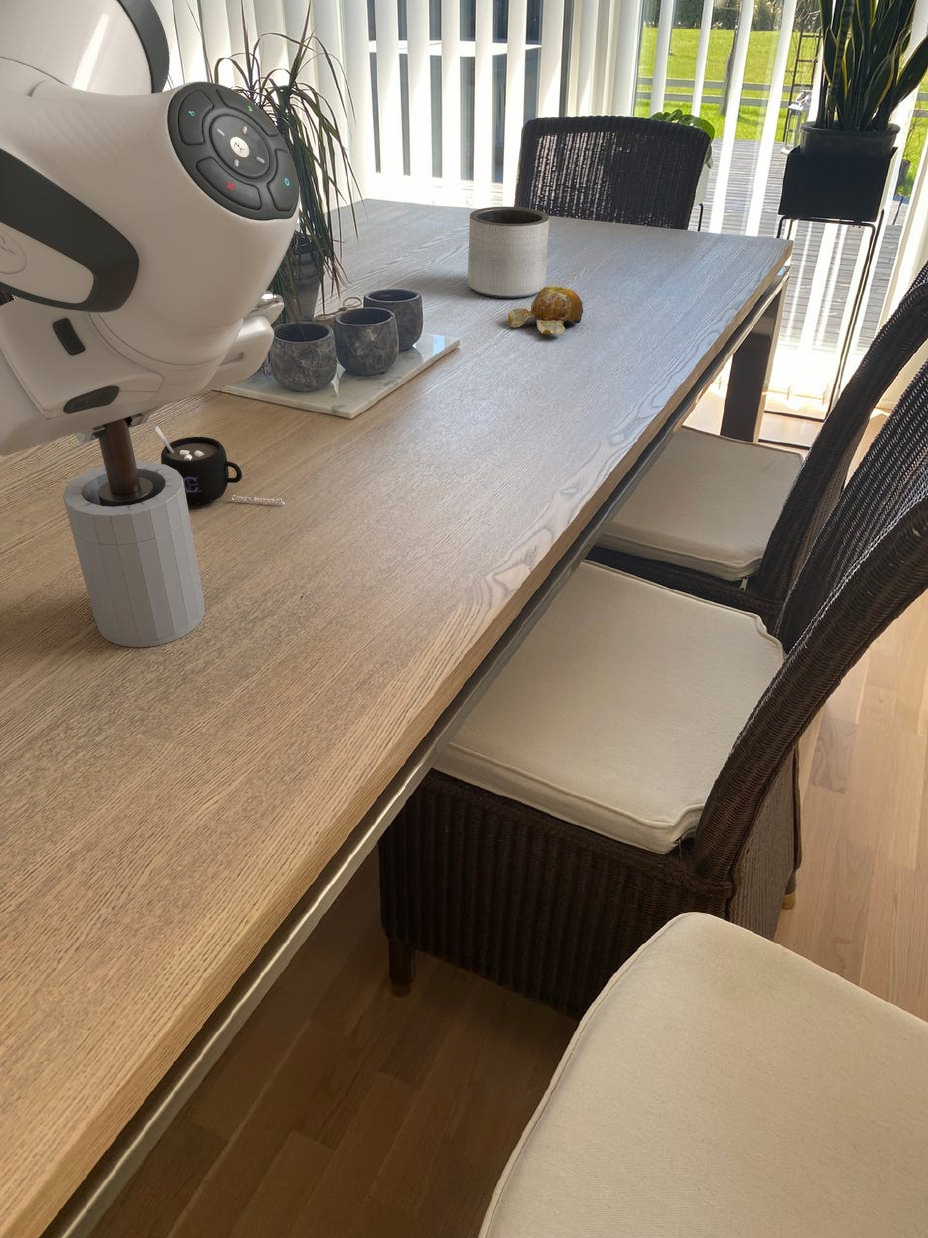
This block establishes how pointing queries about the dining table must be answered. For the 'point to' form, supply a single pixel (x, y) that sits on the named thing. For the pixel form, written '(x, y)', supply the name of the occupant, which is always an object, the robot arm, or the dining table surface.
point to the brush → (121, 468)
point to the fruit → (550, 310)
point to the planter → (507, 251)
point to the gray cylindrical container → (137, 558)
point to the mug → (202, 468)
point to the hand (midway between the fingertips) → (107, 424)
